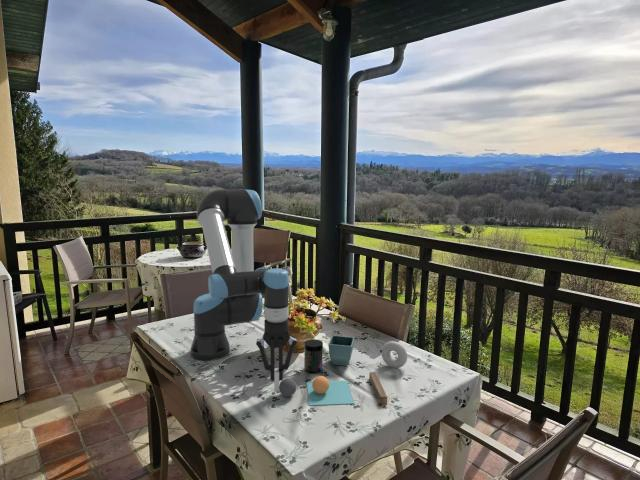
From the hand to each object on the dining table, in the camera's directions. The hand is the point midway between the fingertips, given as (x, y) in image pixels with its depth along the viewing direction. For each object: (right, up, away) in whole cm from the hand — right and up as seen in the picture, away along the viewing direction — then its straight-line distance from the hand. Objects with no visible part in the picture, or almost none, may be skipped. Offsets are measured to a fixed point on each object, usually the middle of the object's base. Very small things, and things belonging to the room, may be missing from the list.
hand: (276, 389), depth 125 cm
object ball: (+14, +1, +1) cm, 14 cm away
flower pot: (+22, +1, +23) cm, 32 cm away
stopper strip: (+33, -2, +3) cm, 33 cm away
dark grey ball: (+4, +1, 0) cm, 4 cm away
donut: (+41, 0, +20) cm, 46 cm away
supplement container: (+11, 0, +17) cm, 21 cm away
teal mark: (+17, -2, +2) cm, 17 cm away
